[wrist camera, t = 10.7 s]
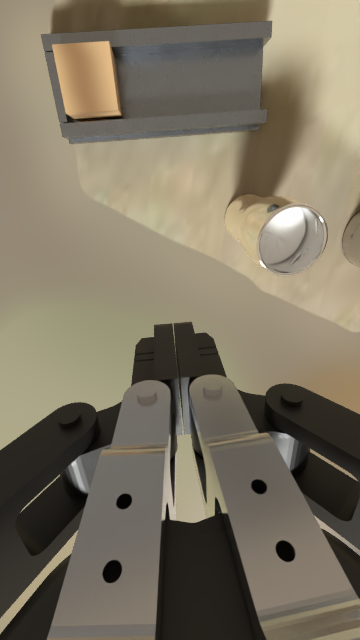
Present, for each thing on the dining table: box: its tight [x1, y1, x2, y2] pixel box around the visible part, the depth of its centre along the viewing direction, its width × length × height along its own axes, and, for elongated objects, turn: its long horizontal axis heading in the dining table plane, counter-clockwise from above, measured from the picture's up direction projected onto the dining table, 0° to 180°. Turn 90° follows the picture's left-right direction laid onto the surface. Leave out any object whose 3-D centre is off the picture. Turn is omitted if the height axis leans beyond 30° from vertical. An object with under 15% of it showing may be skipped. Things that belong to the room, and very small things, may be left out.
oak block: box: [52, 41, 123, 121], centre depth 29 cm, size 5×5×5 cm
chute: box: [41, 21, 272, 144], centre depth 31 cm, size 22×9×4 cm, turn 94°
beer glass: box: [225, 194, 328, 277], centre depth 33 cm, size 7×7×15 cm
